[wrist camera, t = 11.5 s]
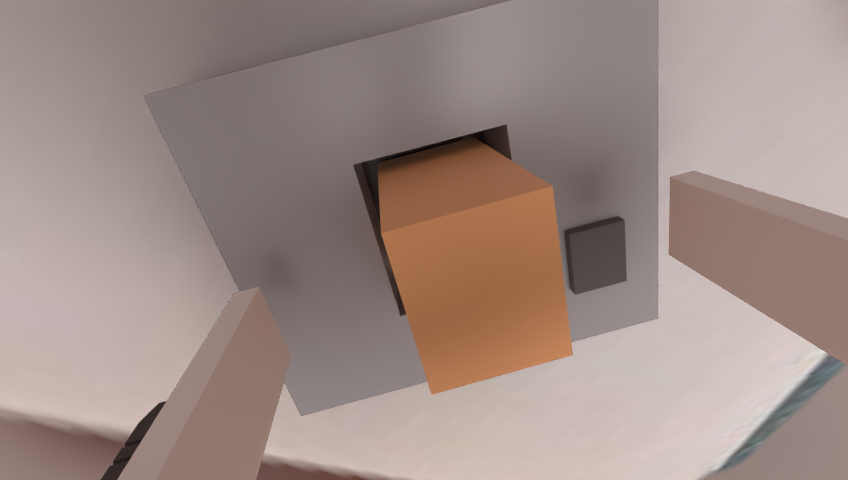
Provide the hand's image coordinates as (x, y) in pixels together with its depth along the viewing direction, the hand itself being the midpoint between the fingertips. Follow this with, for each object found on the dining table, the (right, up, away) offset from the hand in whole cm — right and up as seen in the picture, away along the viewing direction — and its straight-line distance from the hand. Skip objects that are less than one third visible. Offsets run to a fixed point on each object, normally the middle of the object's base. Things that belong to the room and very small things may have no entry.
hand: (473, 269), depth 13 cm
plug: (-1, +3, +7) cm, 8 cm away
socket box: (-1, +3, +7) cm, 8 cm away
